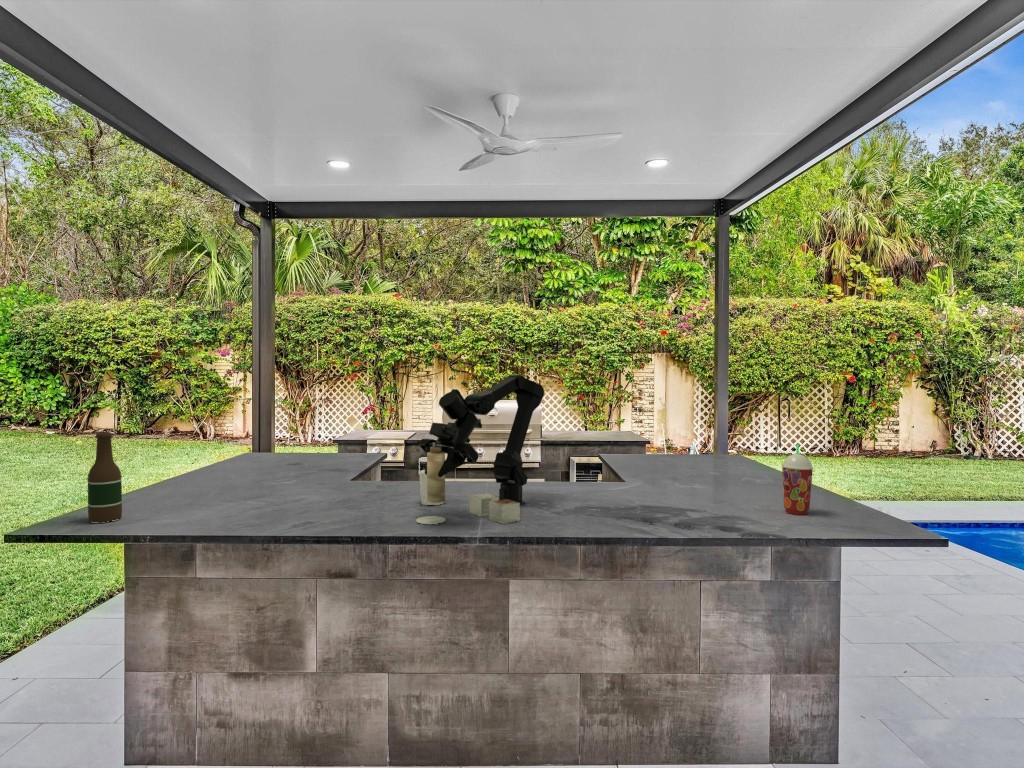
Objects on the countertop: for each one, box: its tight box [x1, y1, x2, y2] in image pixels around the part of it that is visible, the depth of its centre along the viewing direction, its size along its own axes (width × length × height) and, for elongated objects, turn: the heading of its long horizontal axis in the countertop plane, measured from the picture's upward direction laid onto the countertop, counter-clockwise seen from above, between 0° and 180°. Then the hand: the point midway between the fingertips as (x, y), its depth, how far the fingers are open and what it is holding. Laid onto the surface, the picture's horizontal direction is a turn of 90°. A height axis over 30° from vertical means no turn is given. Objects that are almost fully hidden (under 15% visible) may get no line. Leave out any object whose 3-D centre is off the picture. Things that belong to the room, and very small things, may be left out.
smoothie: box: [781, 444, 814, 516], centre depth 182 cm, size 8×8×20 cm
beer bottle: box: [87, 431, 123, 522], centre depth 170 cm, size 8×8×24 cm
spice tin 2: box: [488, 499, 521, 525], centre depth 172 cm, size 6×6×5 cm
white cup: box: [418, 469, 444, 506], centre depth 192 cm, size 8×8×10 cm
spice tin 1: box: [469, 492, 499, 518], centre depth 180 cm, size 6×6×5 cm
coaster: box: [415, 515, 446, 525], centre depth 170 cm, size 8×8×1 cm
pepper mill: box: [426, 446, 446, 503], centre depth 168 cm, size 5×5×14 cm
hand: (432, 475), depth 167 cm, fingers closed on pepper mill, 5 cm apart
